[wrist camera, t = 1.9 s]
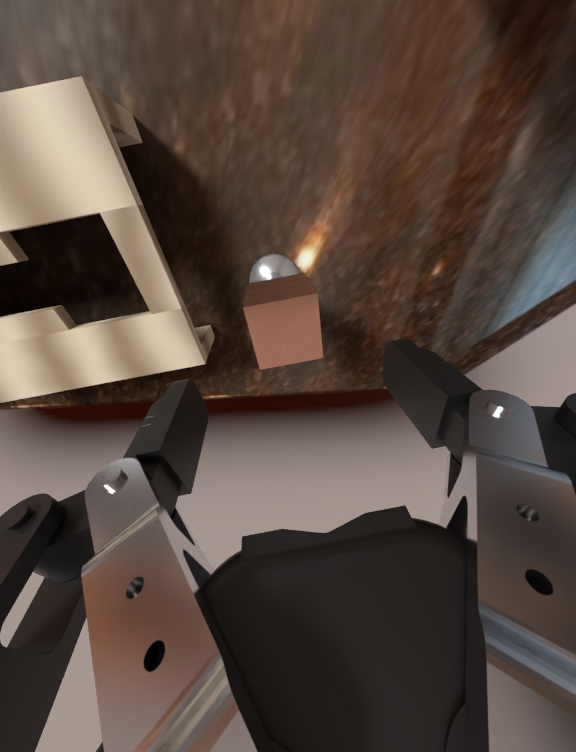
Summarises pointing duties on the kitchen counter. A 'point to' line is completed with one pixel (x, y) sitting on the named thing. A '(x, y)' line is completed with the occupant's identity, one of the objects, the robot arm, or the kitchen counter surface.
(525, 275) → the kitchen counter surface
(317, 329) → the footed peg
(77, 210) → the keyhole plate
